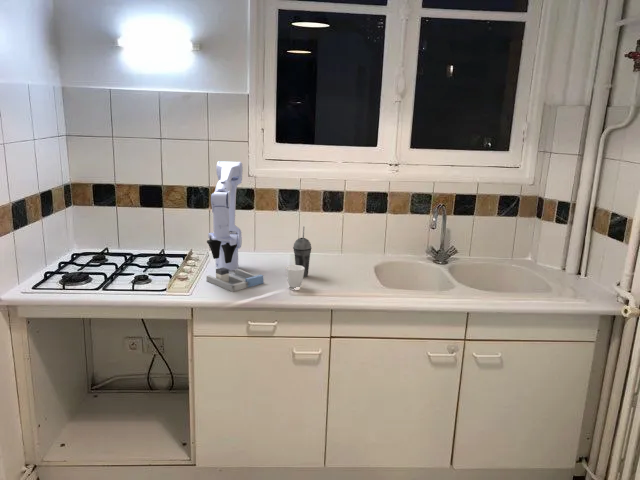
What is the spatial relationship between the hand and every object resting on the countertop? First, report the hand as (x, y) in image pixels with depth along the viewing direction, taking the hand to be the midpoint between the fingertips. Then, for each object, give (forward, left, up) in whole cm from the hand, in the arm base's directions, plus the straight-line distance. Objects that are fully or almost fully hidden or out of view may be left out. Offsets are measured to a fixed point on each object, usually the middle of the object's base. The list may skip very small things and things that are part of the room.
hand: (222, 260), depth 197 cm
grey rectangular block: (0, 0, -8) cm, 8 cm away
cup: (+20, +18, -10) cm, 29 cm away
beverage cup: (+12, +29, -10) cm, 33 cm away
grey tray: (+3, +3, -9) cm, 10 cm away
